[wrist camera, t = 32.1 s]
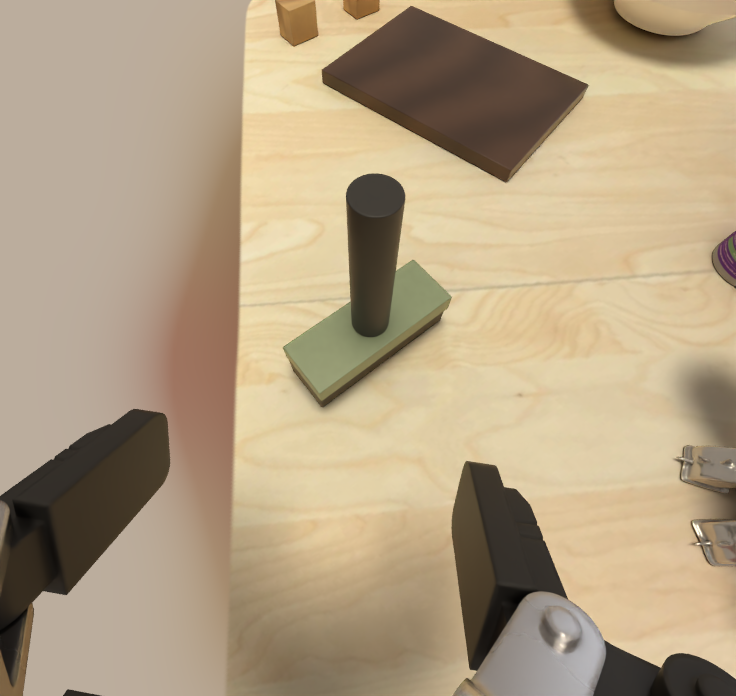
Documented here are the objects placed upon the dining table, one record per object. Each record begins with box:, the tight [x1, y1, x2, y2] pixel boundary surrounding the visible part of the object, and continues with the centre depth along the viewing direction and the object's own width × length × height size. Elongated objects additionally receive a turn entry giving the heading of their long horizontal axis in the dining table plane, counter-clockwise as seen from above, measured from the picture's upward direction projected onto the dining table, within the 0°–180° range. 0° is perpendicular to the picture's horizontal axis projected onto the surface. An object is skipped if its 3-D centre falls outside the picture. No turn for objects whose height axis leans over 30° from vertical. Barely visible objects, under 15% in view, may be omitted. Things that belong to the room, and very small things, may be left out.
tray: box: [322, 6, 589, 182], centre depth 37 cm, size 20×14×1 cm
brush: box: [283, 174, 452, 407], centre depth 21 cm, size 4×10×13 cm, turn 129°
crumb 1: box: [275, 0, 318, 46], centre depth 40 cm, size 3×3×2 cm
